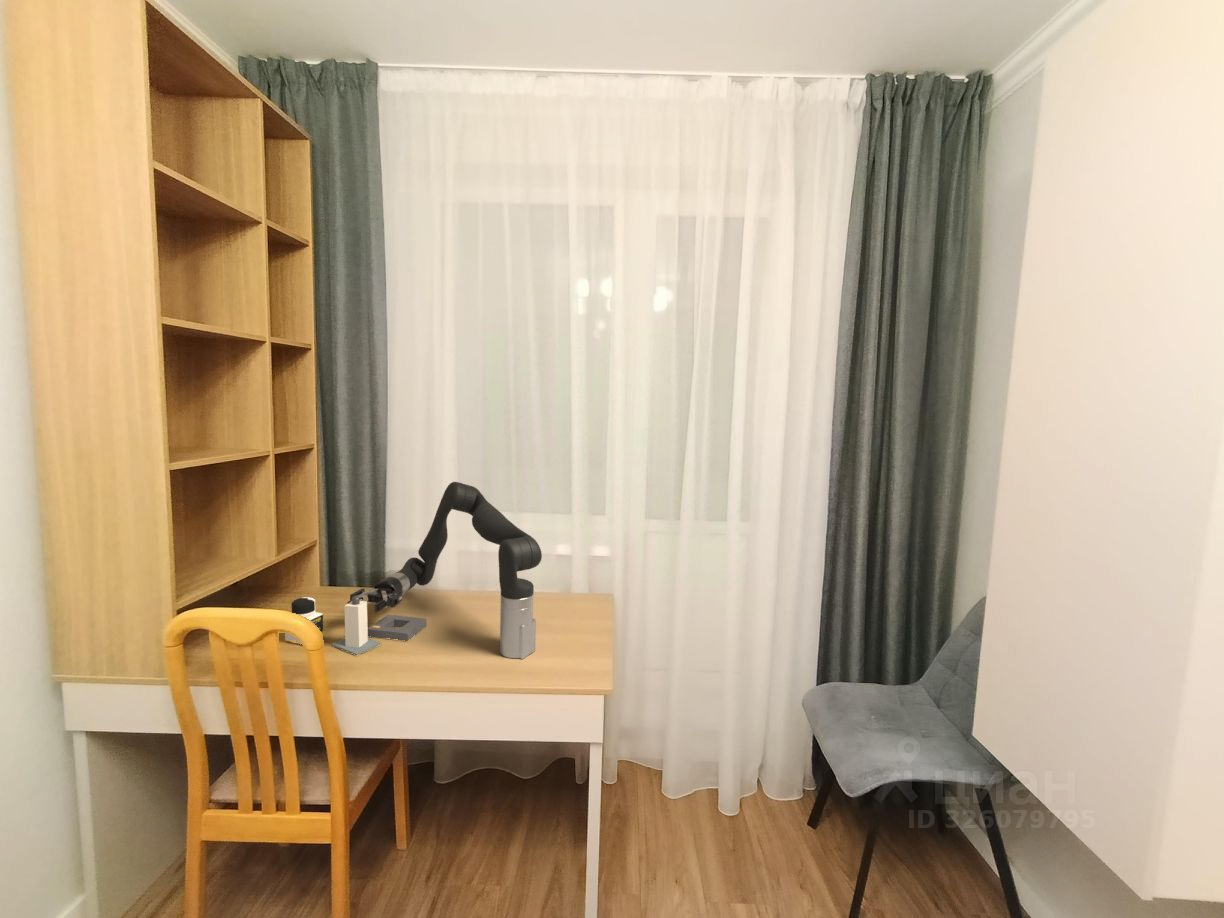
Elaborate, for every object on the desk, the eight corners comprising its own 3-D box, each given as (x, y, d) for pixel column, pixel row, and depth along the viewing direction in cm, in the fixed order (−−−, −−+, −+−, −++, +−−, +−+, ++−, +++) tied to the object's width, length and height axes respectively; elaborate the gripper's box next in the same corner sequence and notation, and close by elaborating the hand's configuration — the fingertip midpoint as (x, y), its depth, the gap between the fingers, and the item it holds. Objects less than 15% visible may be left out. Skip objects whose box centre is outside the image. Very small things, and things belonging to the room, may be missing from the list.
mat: (381, 645, 160) (381, 643, 160) (356, 656, 153) (356, 654, 153) (356, 635, 166) (356, 633, 166) (331, 645, 159) (331, 643, 159)
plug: (367, 641, 161) (366, 594, 159) (359, 647, 157) (358, 600, 155) (354, 639, 162) (353, 593, 160) (345, 646, 158) (344, 598, 156)
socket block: (426, 626, 174) (426, 617, 173) (407, 641, 163) (407, 632, 163) (387, 621, 176) (387, 613, 175) (367, 636, 165) (367, 628, 165)
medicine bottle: (303, 646, 158) (302, 605, 156) (284, 641, 160) (283, 601, 159) (324, 636, 165) (322, 597, 163) (305, 631, 167) (304, 593, 165)
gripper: (371, 574, 177) (339, 592, 162) (413, 578, 175) (384, 597, 159) (372, 596, 178) (339, 617, 163) (413, 601, 176) (384, 622, 160)
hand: (362, 607), depth 161 cm, fingers open, 8 cm apart
